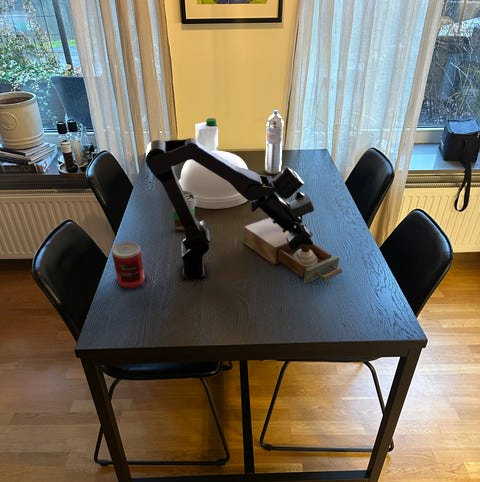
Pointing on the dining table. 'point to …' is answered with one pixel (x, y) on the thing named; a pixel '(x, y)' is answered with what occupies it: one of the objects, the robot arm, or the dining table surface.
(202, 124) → the milk carton
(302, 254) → the cream and brown stand
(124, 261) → the canned food
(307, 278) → the drawer
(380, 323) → the dining table surface
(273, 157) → the water bottle
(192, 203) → the food container
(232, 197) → the dome cover
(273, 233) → the cabinet
